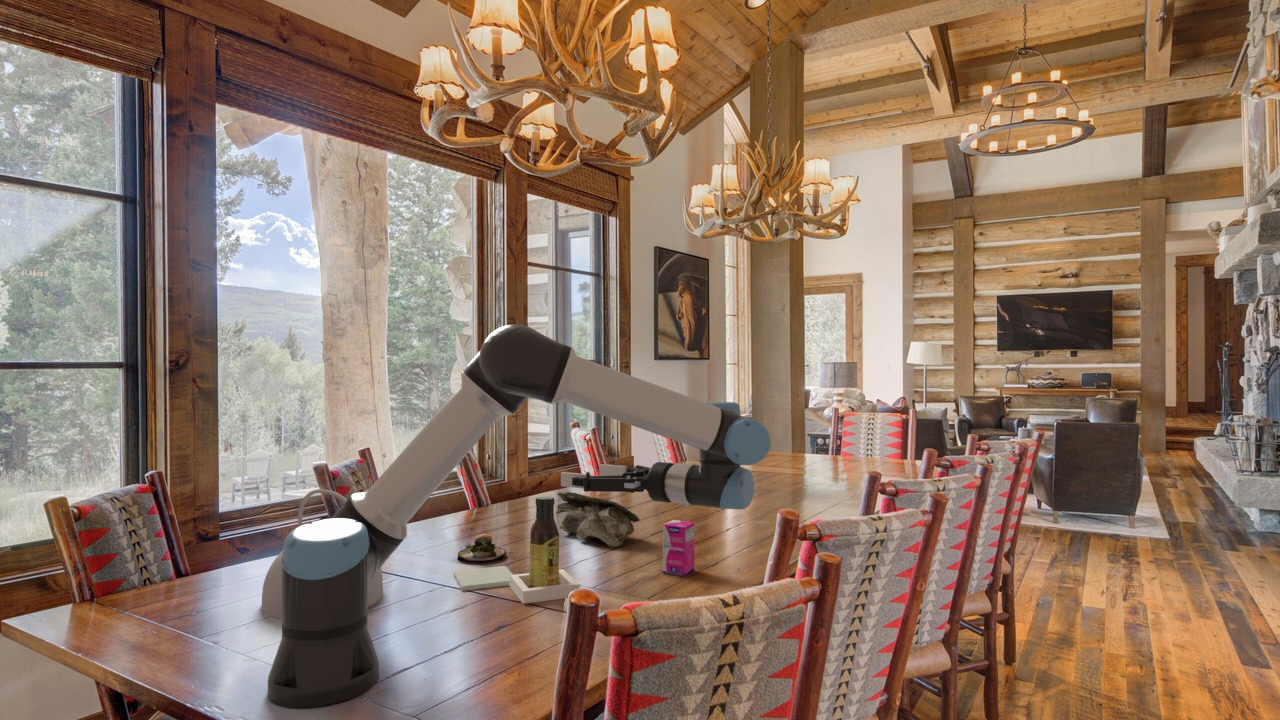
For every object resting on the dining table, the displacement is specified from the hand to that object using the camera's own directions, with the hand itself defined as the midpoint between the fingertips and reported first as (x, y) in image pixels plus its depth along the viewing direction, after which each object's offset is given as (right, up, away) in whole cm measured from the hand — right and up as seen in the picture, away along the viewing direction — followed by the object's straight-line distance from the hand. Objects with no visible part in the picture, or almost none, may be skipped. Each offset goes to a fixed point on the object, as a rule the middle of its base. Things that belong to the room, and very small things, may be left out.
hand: (581, 474), depth 144 cm
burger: (-28, -26, +31) cm, 49 cm away
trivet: (-23, -26, +12) cm, 36 cm away
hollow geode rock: (-1, -27, +52) cm, 59 cm away
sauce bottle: (-8, -26, +4) cm, 27 cm away
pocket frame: (-8, -26, +4) cm, 27 cm away
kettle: (-52, -26, -2) cm, 58 cm away
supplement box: (+21, -26, +19) cm, 39 cm away
